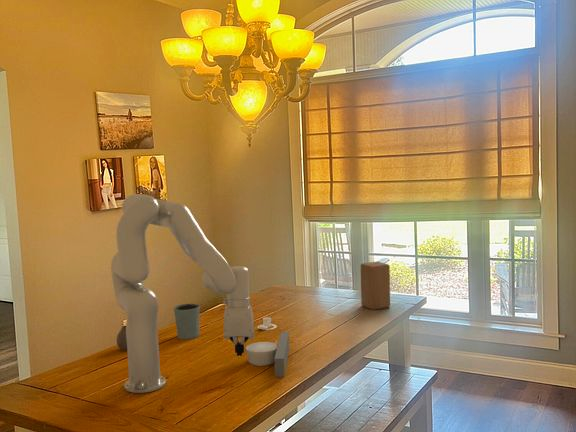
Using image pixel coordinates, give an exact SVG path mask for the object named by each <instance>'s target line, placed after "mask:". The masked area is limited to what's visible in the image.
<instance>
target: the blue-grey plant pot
mask: <svg viewBox="0 0 576 432" xmlns="http://www.w3.org/2000/svg"><path fill="white" fill-rule="evenodd" d="M200 309H201V308H200V305H199V304H198V303H197V304H196V303H184V304H183V303H181V304H178V305H176V306H174V307H173V312H174V317H175V327H176V334H177V336H176V337H177V338H178V339H180V340H192V339H195V338H198V337H199V335H200Z"/></svg>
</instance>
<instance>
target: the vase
mask: <svg viewBox="0 0 576 432" xmlns="http://www.w3.org/2000/svg"><path fill="white" fill-rule="evenodd" d="M116 345H117V348H118V349H119V350H121V351H127V339H126V325H122V326H121V329H120V330H119V332H118V333H117V336H116Z"/></svg>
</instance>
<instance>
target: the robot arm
mask: <svg viewBox="0 0 576 432" xmlns="http://www.w3.org/2000/svg"><path fill="white" fill-rule="evenodd" d="M121 209H122V212H123V214H122V216H121V217H120V219H119V221H118V222H117V227H116V235H115V237H116V248H117V253H115V254H114V256H113V257H112V259H111V264H110V273H111V279H112V285H113V291H114V297H115V301H116V303H117V305H118V307H119V308H120V309H122V310H123V311H125V312H126V322H125V326H126V339H127V364H128V378H129V379H128V380H126V382H124V390H125V391H127V392H128V393H129V392H130V393H135V394H144V393H151V392H154V391H157V390H160V389H162V388H164V386H165V385H166V383H167V382H166V379H167V378H165V377H164V376H163V375H161V365H160V351H159V350H160V348H159V333H158V332H159V331H158V316H159V301H158V297H157V295H156V294H155V292H154V291H152V289H150V288H149V287H147V286H145V285H144V282H145V281H146V280H147V278H148V277H149V275H150V269H151V268H150V267H151V266H150V262H149V256H148V250H147V242H146V241H147V240H146V233H147V228H148V227H149V225H154V226H158V227H163V228H168V229H169V230H170V232H171V234H172V235H173V237H174V238H175V240H176V242H177V243H178V245H179V246H180V248H181V249H182V251H183V252H184V254H185V255H186V256H187V257H189V259H191V260H192V261H193V262H195V263H196V264H197V265H198V266H200V267H201V268H202V269H203V271H204V273H203V274H202V277H201V280H202V284H203V286H204V287H206V289H208V290H210V291H212V292H216V293H218V294H220V295H226V298H223V300H222V304H226V306H225V307H224V312H223V338H224V339H226V340H230V342H232V343H233V344H234V353H235V354H236V357H239V356H240V357H242V356H243V354H244V353H245V343H247V342H248V340H252V339H255V337H256V335H255V332H254V331H255V323H254V313H253V309H252V305H250V281H249V279H250V278H249V277H250V276H249V275H250V273H249V268H247V267H246V266H243V265H242V266H241V265H237V266H236V265H235V266H230V265H229V263H228V262H227V260H226V259H225V257H224V256H223V255H222V254H221V253H220V252H219V251H218V250H217V248H216V247H215V246H214V245H213V243H212V242H211V241H210V240H209V239H208V238H207V237H206V235H205V233H204V232H203V231H204V230H202V228H201V227H200V225H199V223H198V222H197V219H195V217H194V215H193V214H192V212H191V210H190V209H189V208H188V207H187V206H186V205H185V204H183V203H179V202H172V201H167V200H161V199H157V198H155V197H153V196H151V195H148V194H139V193H132V194H129V195H128V196H127V197H125V199H124V200H123V202H122V204H121ZM239 338H241V339H240V341H239Z"/></svg>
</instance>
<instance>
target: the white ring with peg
mask: <svg viewBox="0 0 576 432" xmlns="http://www.w3.org/2000/svg"><path fill="white" fill-rule="evenodd" d="M262 322H263V324H260V325H258V326H257V329H258V330H261V331H262V330H263V331H270V330H273V329H276V328H277V327H278V325H276V324H273V323H271V322H272V318H271V317H269V316H267V317H263V318H262ZM271 326H273V327H271ZM270 327H271V328H270Z"/></svg>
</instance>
